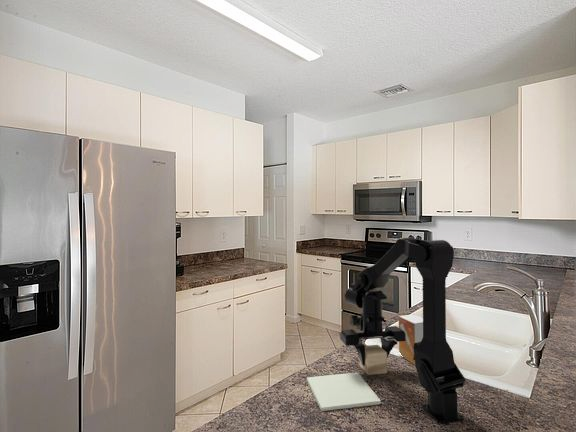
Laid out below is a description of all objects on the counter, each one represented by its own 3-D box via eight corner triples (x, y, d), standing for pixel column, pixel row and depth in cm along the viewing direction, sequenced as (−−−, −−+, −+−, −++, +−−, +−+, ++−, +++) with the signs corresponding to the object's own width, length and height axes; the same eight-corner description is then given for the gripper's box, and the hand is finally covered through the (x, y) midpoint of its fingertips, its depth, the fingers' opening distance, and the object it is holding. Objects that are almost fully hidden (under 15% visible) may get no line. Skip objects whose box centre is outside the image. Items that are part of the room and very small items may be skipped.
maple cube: (387, 373, 96) (386, 352, 96) (367, 375, 94) (367, 354, 95) (378, 364, 101) (377, 344, 101) (359, 365, 100) (359, 346, 100)
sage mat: (380, 404, 80) (380, 400, 80) (321, 411, 77) (321, 407, 77) (357, 375, 94) (357, 372, 94) (306, 380, 92) (306, 377, 92)
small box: (398, 355, 108) (397, 315, 108) (414, 352, 109) (414, 313, 110) (415, 365, 100) (414, 323, 100) (432, 362, 102) (431, 320, 102)
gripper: (388, 303, 108) (389, 350, 108) (333, 306, 104) (334, 355, 104) (406, 312, 97) (407, 365, 97) (346, 317, 93) (347, 371, 93)
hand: (373, 364), depth 98 cm, fingers closed on maple cube, 6 cm apart
